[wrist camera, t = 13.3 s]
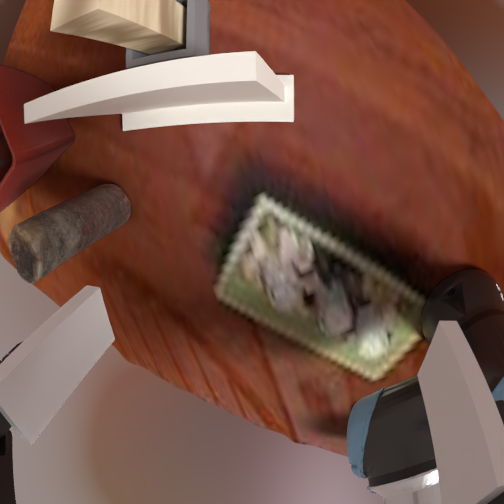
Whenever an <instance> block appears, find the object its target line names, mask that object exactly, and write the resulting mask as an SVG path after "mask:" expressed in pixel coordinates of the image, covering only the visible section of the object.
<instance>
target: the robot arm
mask: <svg viewBox="0 0 504 504" xmlns="http://www.w3.org/2000/svg"><path fill="white" fill-rule="evenodd" d="M421 328H422V331H423V334H424V336H425V339H426V341H427V343H428V344H429V345H430V347H429V349H428V352H427V354H426V356H425V359H424V361H423V363H422V366H421V368H420V370H419V372H418V375H416V376H414V377H412V378H409V379H407V380H405V381H402V382H400V383H397V384H395V385H392V386H390V387H383V388H381V389H380V390H379V391H377V392H375V393H373V394H370V395H368V396H365V397H363V398H361V399H360V400H358V401H357V402H356V403H355V405H354V406H353V408H352V411H351V414H350V416H349V420H348V427H347V451H348V458H349V462H350V464H351V466H352V468H351V469H352V471H353V473H354V474H355V475H356V476H357V477H359V478H364V479H365V478H368V480H369V487H370V490H372V491H374V492H376V493H378V494H379V495H381V496H382V497H383V501H384V504H504V303H503V296H502V292H501V289H500V287H499V285H498V284H497V282H496V281H495V280H494V279H493V278H492V277H491V276H490V275H489V274H488V273H487V272H485V271H483V270H479V269H465V270H462V271H459V272H456V273H454V274H452V275H450V276H449V277H447V278H446V279H444V280H443V281H442V282H441V283H440V284H439V285H438V286H437V287H436V288H435V289H434V290H433V291H432V293H431V294H430V295H429V297H428V299H427V300H426V302H425V305H424V307H423V310H422V314H421ZM114 340H115V337H114V334H113V331H112V328H111V325H110V321H109V318H108V315H107V311H106V308H105V304H104V301H103V297H102V293H101V290H100V287H94V286H89V285H87V286H85V287H84V288H83V289H82V290H81V291H79V292H78V293H77V294H76V295H75V296H74V297H72V298H71V299H70V300H69V301H68V302H67V303H65V304H64V305H63V306H62V307H61V308H60V309H59V310H58V311H56V312H55V313H54V314H53V315H52V316H51V317H49V318H48V319H47V320H46V321H45V322H44V323H43V324H42V325H41V326H40V327H39V328H37V329H36V330H35V331H34V332H33V333H32V334H31V335H30V336H29V337H28V338H27V339H26V340H24V341H22V342H21V343H19V344H17V345H16V346H15V347H14V348H13V349H12V350H11V351H10V352H9V354H7V355H6V356H5V357H4V358H3V359H2V361H0V504H16V500H15V492H14V479H13V460H12V434H11V431H10V430H9V429H10V427H11V426H12V427H13V428H14V430H15V431H16V432H17V433H18V434H19V436H21V437H22V438H23V439H25V440H26V441H28V442H29V443H30V444H32V445H33V443H34V441H35V440H36V439H37V438H38V436H39V435H40V434H41V432H42V431H43V429H44V428H45V427H46V426H47V424H48V423H49V422H50V420H51V419H52V418H53V416H54V415H55V414H56V412H57V411H58V410H59V408H60V407H61V406H62V405H63V403H64V402H65V401H66V399H67V398H68V397H69V396H70V394H71V393H72V392H73V391H74V389H75V388H76V387H77V385H78V384H79V383H80V382H81V380H82V379H83V378H84V377H85V375H86V374H87V373H88V372H89V370H90V369H91V368H92V367H93V366H94V364H95V363H96V362H97V361H98V359H99V358H100V357H101V356H102V354H103V353H104V352H105V351H106V350H107V348H108V347H109V346H110V345H111V344H112V342H113V341H114Z"/></svg>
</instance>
